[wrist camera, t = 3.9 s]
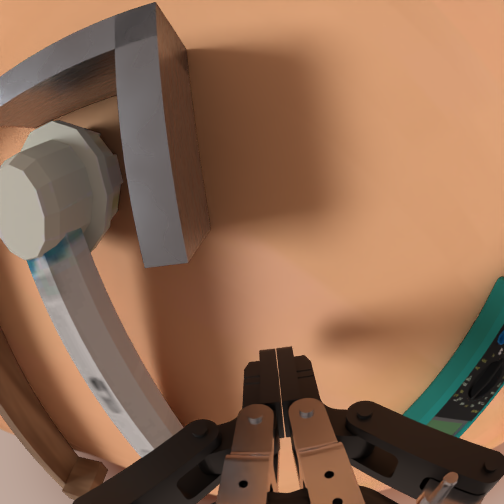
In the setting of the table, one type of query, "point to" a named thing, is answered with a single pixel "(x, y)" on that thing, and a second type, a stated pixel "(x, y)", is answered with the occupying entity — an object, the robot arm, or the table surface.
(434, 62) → the table surface
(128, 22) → the grey angle bracket
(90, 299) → the white massage wand
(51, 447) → the rack
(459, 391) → the digital multimeter
